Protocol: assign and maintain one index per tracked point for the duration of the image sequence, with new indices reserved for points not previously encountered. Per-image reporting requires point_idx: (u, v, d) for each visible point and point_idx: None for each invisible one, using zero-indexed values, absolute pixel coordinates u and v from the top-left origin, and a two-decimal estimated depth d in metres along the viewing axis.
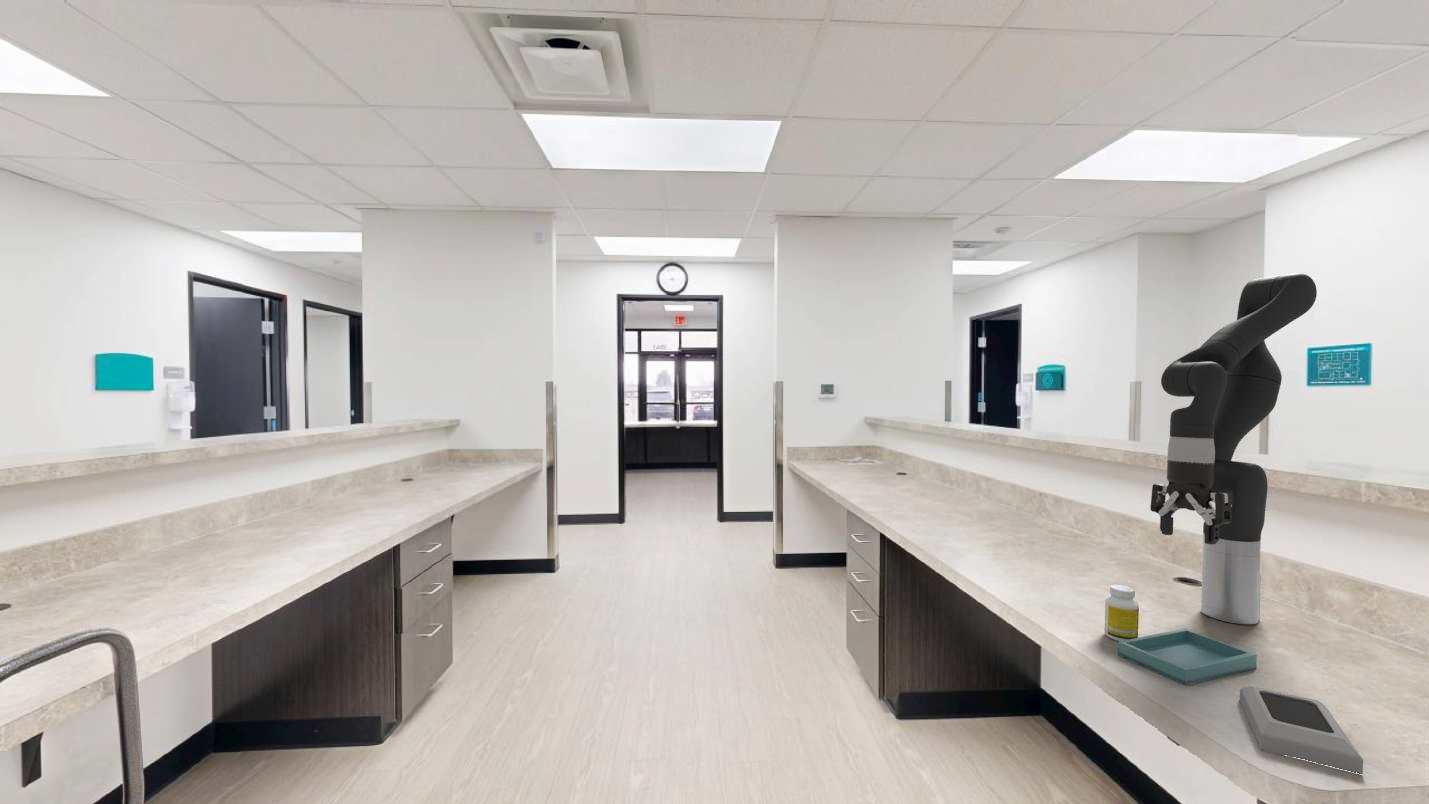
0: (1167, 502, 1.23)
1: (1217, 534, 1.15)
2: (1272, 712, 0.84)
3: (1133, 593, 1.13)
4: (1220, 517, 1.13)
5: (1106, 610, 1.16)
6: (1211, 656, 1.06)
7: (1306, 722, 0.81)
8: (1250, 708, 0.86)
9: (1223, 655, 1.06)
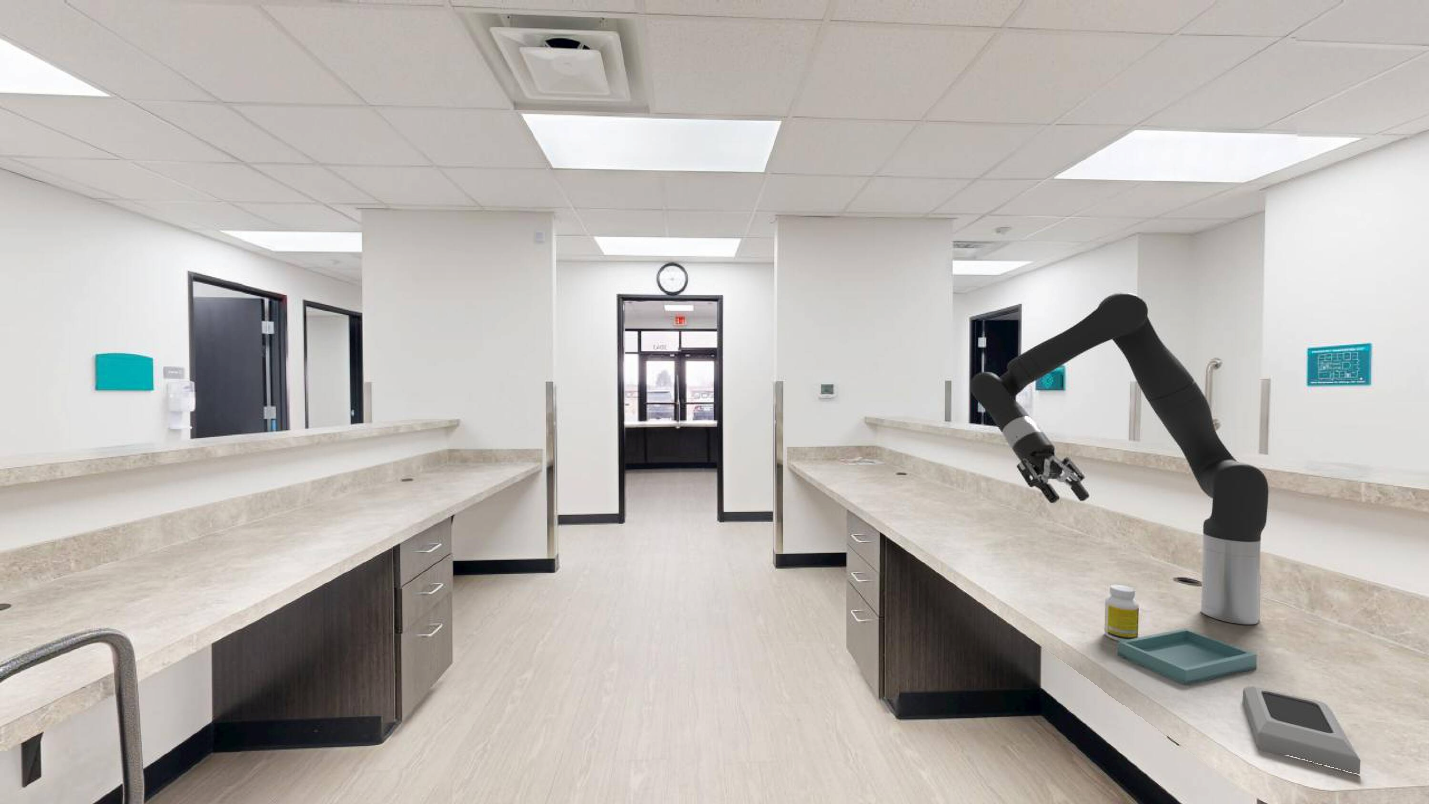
0: None
1: (1047, 492, 1.24)
2: (1271, 711, 0.84)
3: (1133, 593, 1.13)
4: None
5: (1106, 610, 1.16)
6: (1211, 656, 1.06)
7: (1305, 722, 0.81)
8: (1250, 707, 0.86)
9: (1223, 655, 1.06)
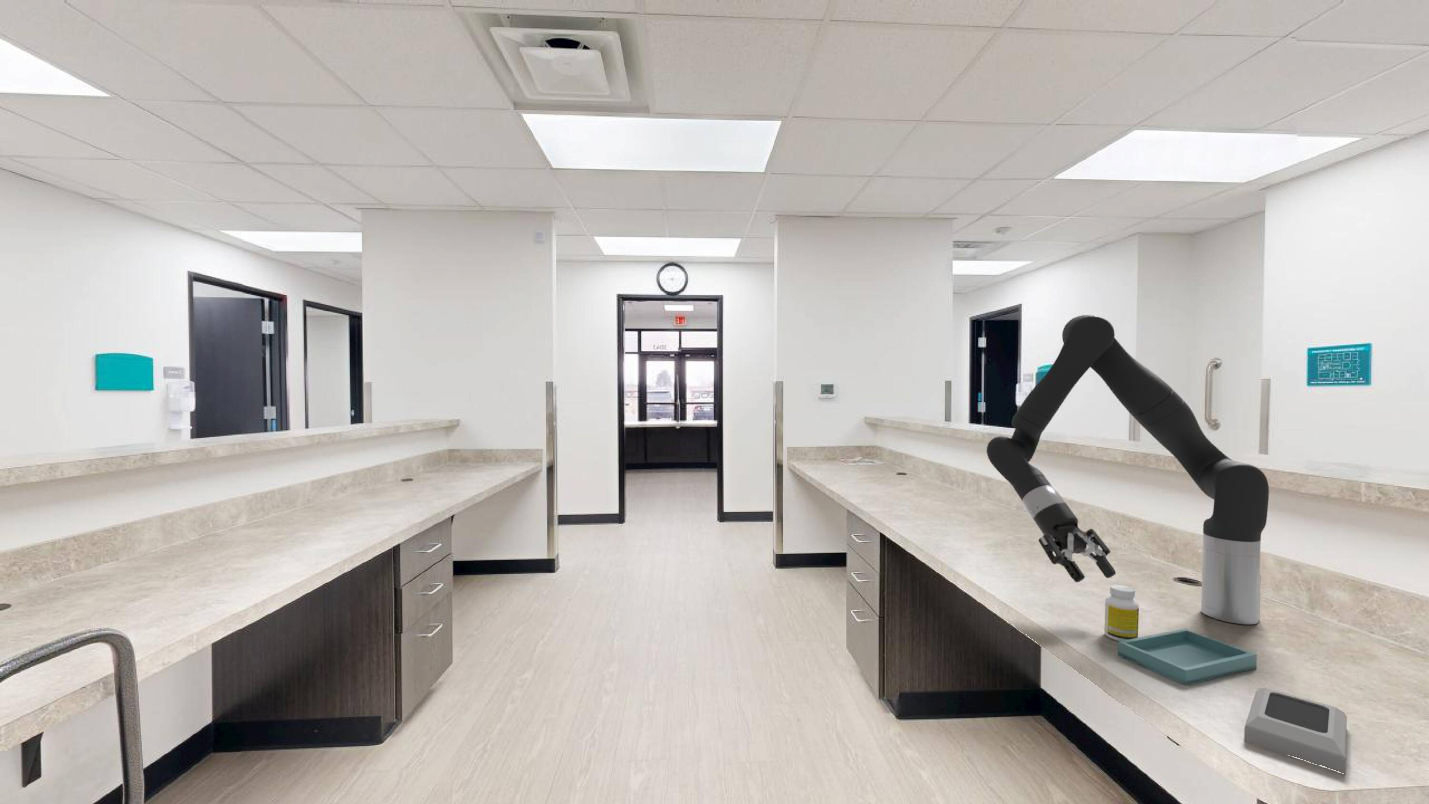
0: None
1: (1071, 570, 1.19)
2: (1270, 710, 0.84)
3: (1133, 593, 1.13)
4: None
5: (1106, 610, 1.16)
6: (1211, 656, 1.06)
7: (1303, 722, 0.81)
8: (1252, 705, 0.87)
9: (1223, 655, 1.06)
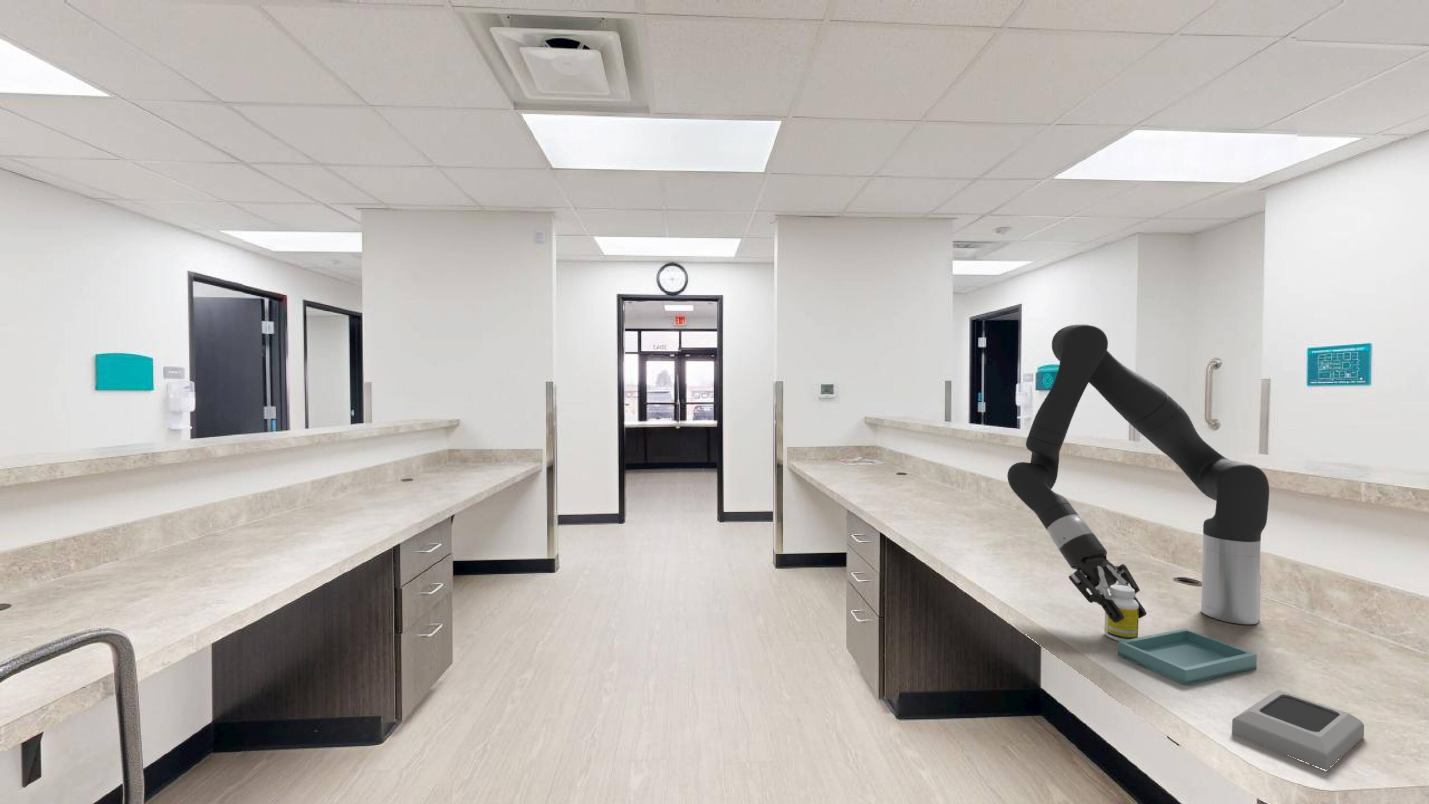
0: None
1: (1109, 610, 1.13)
2: (1270, 708, 0.84)
3: (1133, 593, 1.13)
4: None
5: None
6: (1211, 656, 1.06)
7: (1299, 721, 0.81)
8: (1255, 704, 0.87)
9: (1223, 655, 1.06)
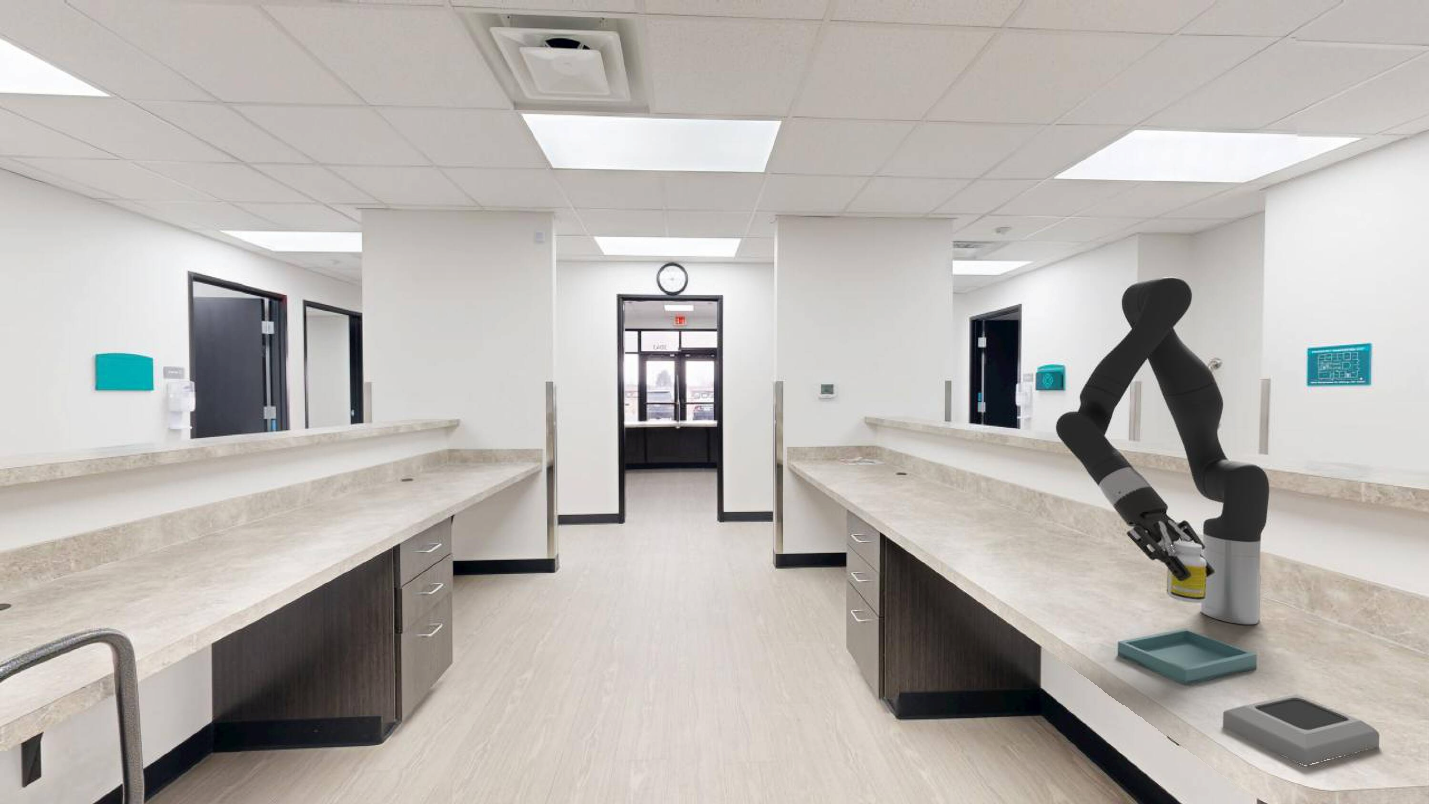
0: None
1: (1174, 567, 1.03)
2: (1271, 707, 0.85)
3: (1200, 549, 1.03)
4: None
5: None
6: (1211, 656, 1.06)
7: (1294, 720, 0.81)
8: None
9: (1223, 655, 1.06)
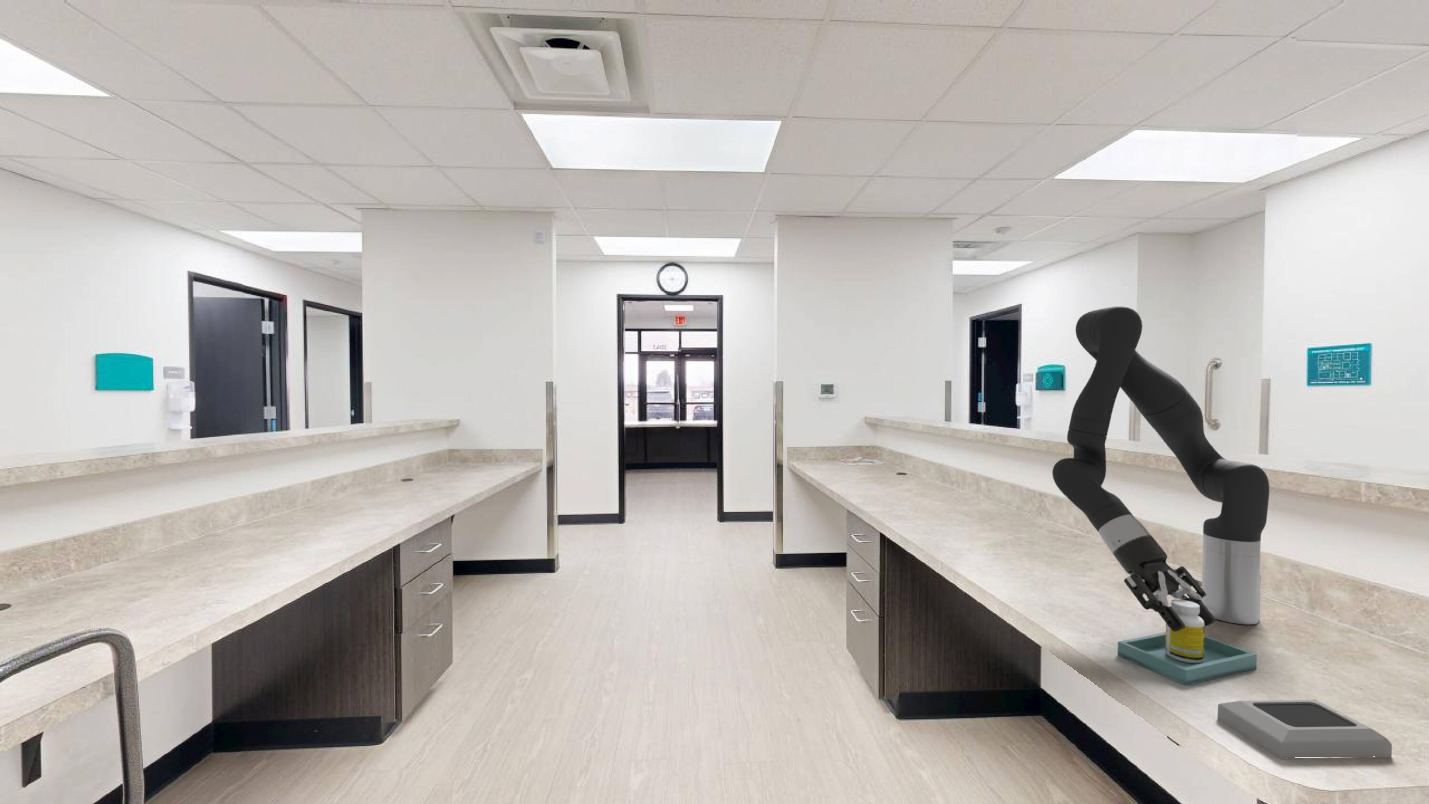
0: None
1: (1168, 618, 1.03)
2: (1273, 706, 0.85)
3: (1198, 609, 1.03)
4: None
5: (1167, 627, 1.06)
6: (1211, 656, 1.06)
7: (1290, 719, 0.82)
8: None
9: (1223, 655, 1.06)
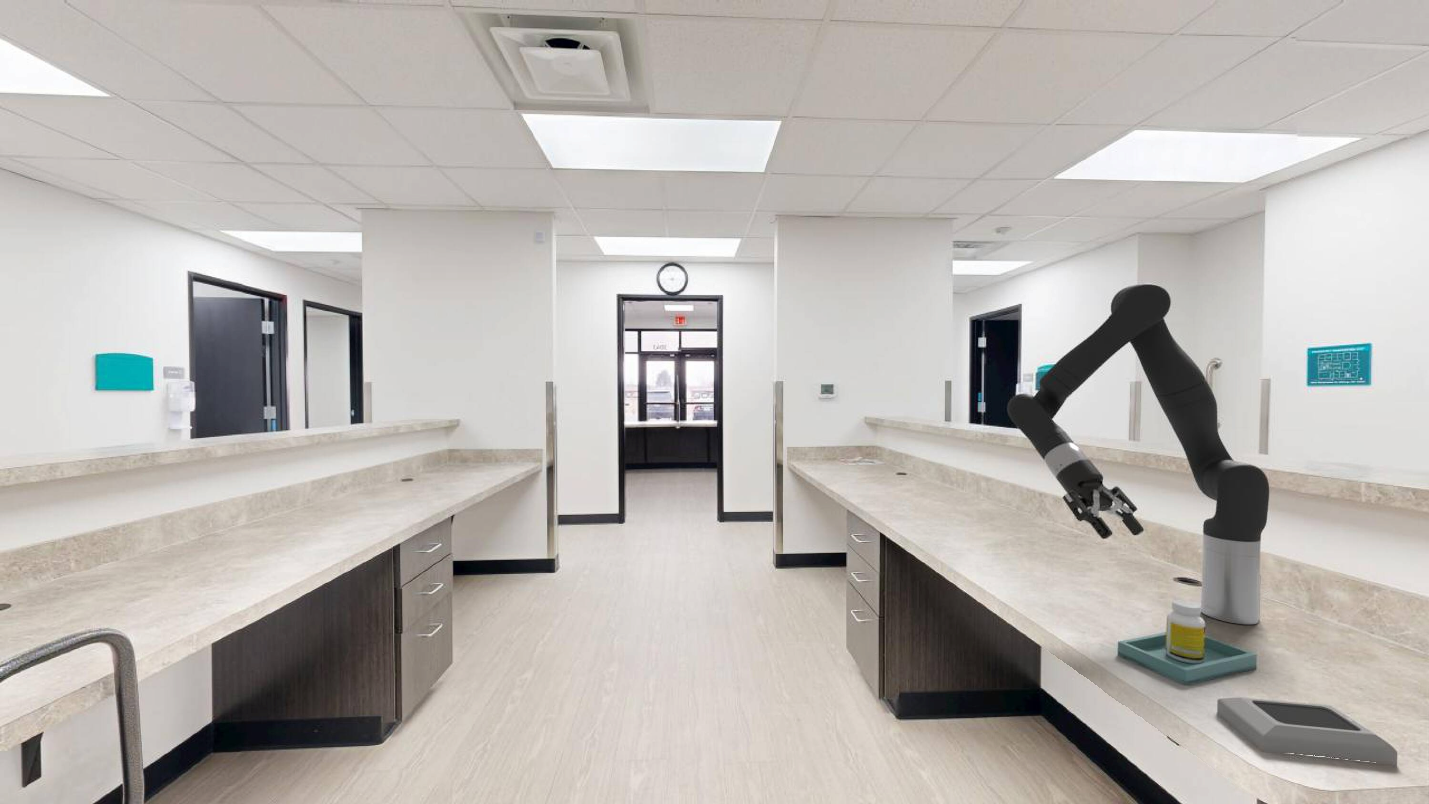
0: None
1: (1098, 527, 1.15)
2: (1276, 705, 0.85)
3: (1199, 609, 1.03)
4: None
5: (1168, 627, 1.06)
6: (1211, 656, 1.06)
7: (1286, 717, 0.82)
8: None
9: (1223, 655, 1.06)
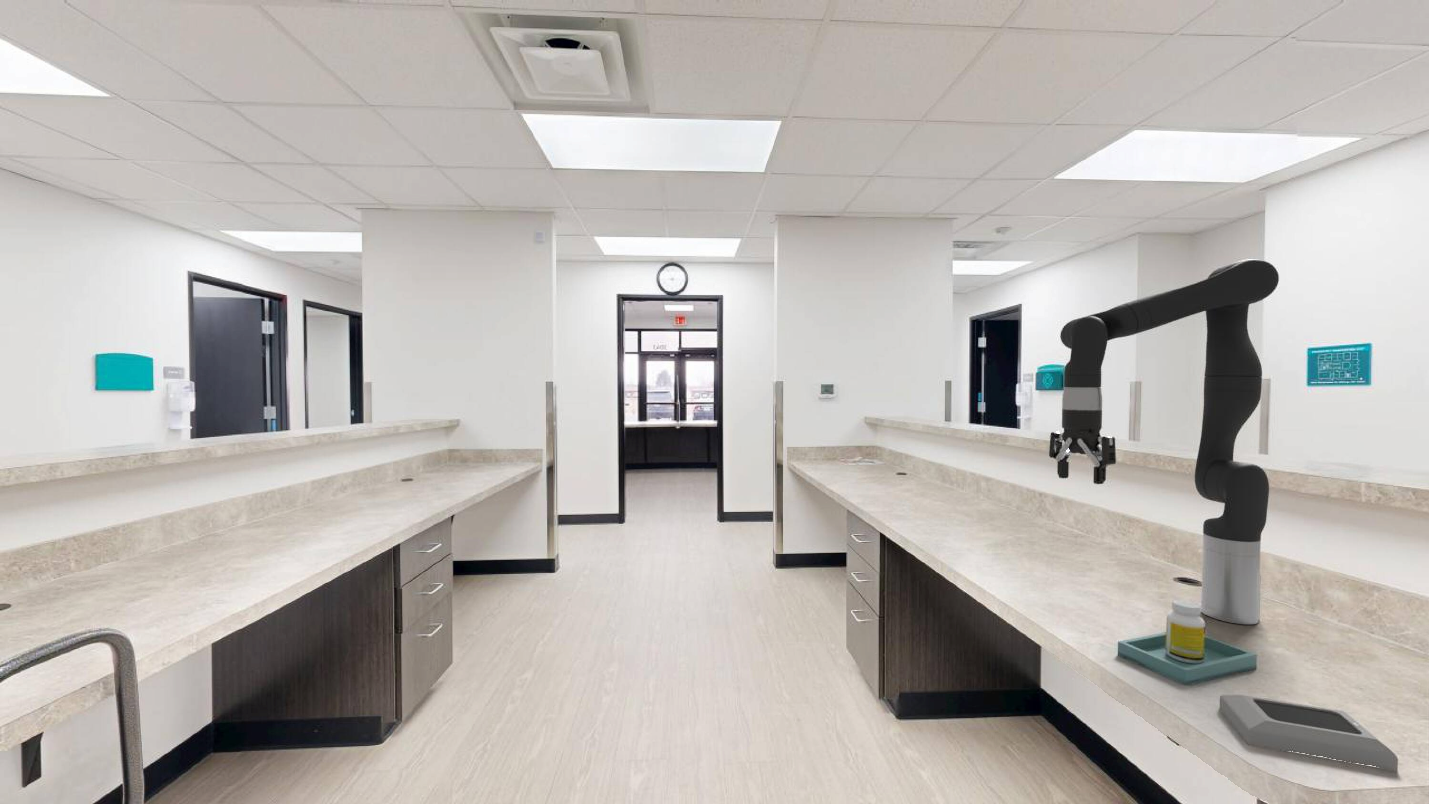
0: (1062, 448, 1.33)
1: (1104, 474, 1.26)
2: (1280, 705, 0.85)
3: (1199, 609, 1.03)
4: (1106, 459, 1.24)
5: (1168, 627, 1.06)
6: (1211, 656, 1.06)
7: (1283, 716, 0.82)
8: None
9: (1223, 655, 1.06)
